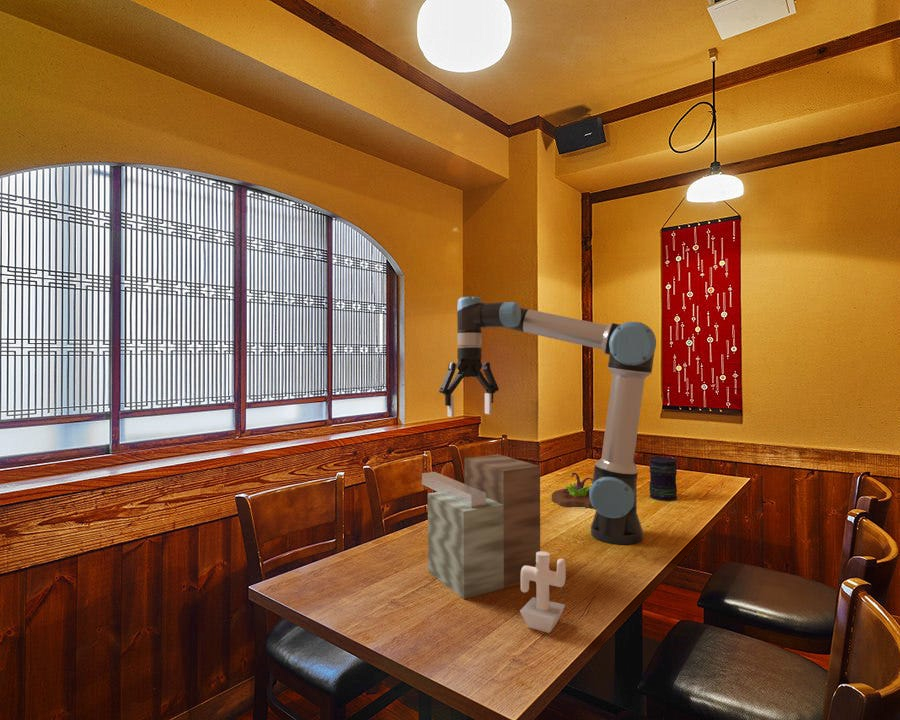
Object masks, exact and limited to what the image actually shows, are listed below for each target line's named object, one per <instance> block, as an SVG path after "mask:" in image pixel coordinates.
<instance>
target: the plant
mask: <svg viewBox="0 0 900 720" xmlns="http://www.w3.org/2000/svg"><path fill="white" fill-rule="evenodd" d="M574 476H576V477H575V479H576V482H575V483H573V484H571V483H569V486H568V485H564V487H565V488H561V489H556V490H555V491H553V492H552V493H551V501H552V503H553V502H554V503H553V504H556V503H557V504H556V505H558V506H559V505H560V506H563V507H562V508H572V507H585V508H584V509H588V508H590V509H594V508H593V506H592V504H591V502H590V497H589V490H590V488H591V485H592V484H590V485H586V486H585V483H586V481H587V480H590V481H591V483H592V482H593V477H586V478H584V479H583V480H582V481H581V478H580V476H579V475H578V473H577V472H570V473H569V478H573V477H574ZM560 506H559V507H560Z"/></svg>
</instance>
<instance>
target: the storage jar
mask: <svg viewBox="0 0 900 720" xmlns="http://www.w3.org/2000/svg"><path fill="white" fill-rule="evenodd" d="M677 470H678V467H677V458H674V457H673V458H672V457H670V456H669V457H667V456H652V457H651V456H650V458H649V473H650V476H649V477H650V482H649V498H650V499H652V500H655V501H660V502H661V501H662V502H674V500H675V501H677V498H678V497H677V495H678V494H677V493H678V489H677V488H678V487H677V473H678V472H677Z"/></svg>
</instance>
